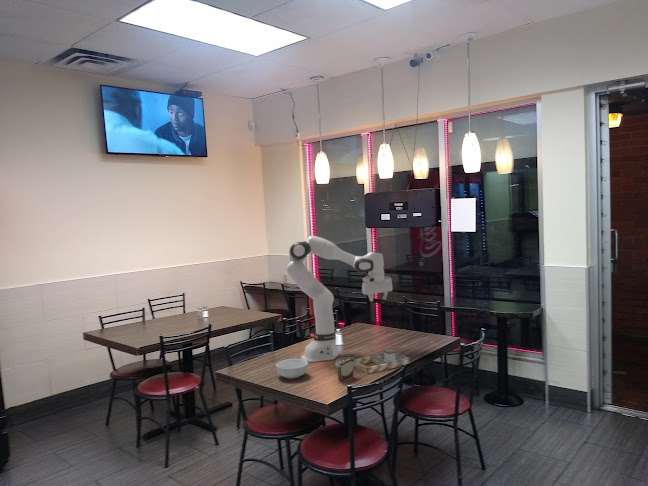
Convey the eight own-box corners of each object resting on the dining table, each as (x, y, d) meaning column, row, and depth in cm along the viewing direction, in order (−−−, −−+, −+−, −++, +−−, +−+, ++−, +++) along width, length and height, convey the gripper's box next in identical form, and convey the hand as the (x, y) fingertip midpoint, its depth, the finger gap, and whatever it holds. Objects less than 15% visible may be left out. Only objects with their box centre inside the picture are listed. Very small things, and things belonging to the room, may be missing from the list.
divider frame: (367, 373, 253) (367, 367, 253) (351, 365, 269) (351, 359, 268) (409, 364, 265) (409, 358, 265) (391, 357, 281) (391, 351, 281)
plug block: (389, 364, 267) (388, 352, 266) (384, 362, 271) (383, 350, 271) (395, 363, 269) (395, 351, 268) (390, 361, 273) (389, 349, 273)
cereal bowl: (270, 377, 255) (269, 364, 255) (294, 369, 267) (293, 356, 267) (291, 384, 243) (290, 370, 243) (315, 375, 255) (314, 362, 255)
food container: (345, 374, 254) (344, 355, 253) (355, 376, 250) (354, 357, 250) (331, 381, 244) (330, 361, 244) (340, 383, 241) (339, 363, 240)
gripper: (388, 275, 301) (389, 297, 302) (360, 278, 292) (361, 301, 292) (394, 276, 295) (395, 298, 296) (365, 279, 286) (366, 302, 287)
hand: (378, 300), depth 294 cm, fingers open, 8 cm apart
